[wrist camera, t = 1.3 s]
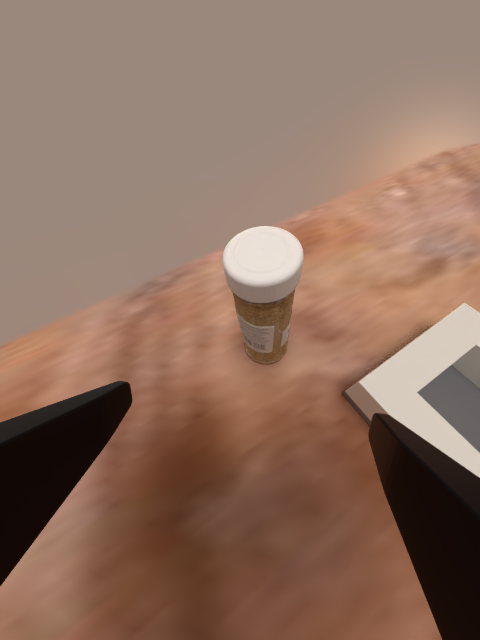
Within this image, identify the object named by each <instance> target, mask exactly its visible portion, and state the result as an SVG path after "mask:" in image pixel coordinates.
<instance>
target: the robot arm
mask: <svg viewBox="0 0 480 640" xmlns="http://www.w3.org/2000/svg"><path fill="white" fill-rule="evenodd" d="M131 404H132V394H131V388H130V384H129V383H128V382H124V381H117V382H114V383H111V384H108V385H105V386H102V387H100V388H97V389H94V390H91V391H88V392H85V393H83V394H80V395H77V396H74V397H71V398H68V399H66V400H63V401H60V402H57V403H54V404H51V405H49V406H46V407H43V408H40V409H37V410H34V411H32V412H29V413H26V414H23V415H20V416H17V417H15V418H12V419H9V420H6V421H3V422H0V586H1V585H2V583H3V582H4V581H5V579H6V578H7V577H8V575H9V574H10V573H11V571H12V570H13V569H14V567H15V566H16V565H17V563H18V562H19V561H20V559H21V558H22V557H23V555H24V554H25V553H26V551H27V550H28V549H29V547H30V546H31V545H32V543H33V542H34V541H35V539H36V538H37V537H38V535H39V534H40V533H41V531H42V530H43V529H44V527H45V526H46V525H47V523H48V522H49V521H50V519H51V518H52V517H53V515H54V514H55V513H56V511H57V510H58V509H59V507H60V506H61V505H62V503H63V502H64V501H65V499H66V498H67V497H68V495H69V494H70V493H71V491H72V490H73V489H74V487H75V486H76V484H77V483H78V482H79V480H80V479H81V478H82V476H83V475H84V474H85V472H86V471H87V470H88V468H89V467H90V466H91V464H92V463H93V462H94V460H95V459H96V458H97V456H98V455H99V454H100V452H101V451H102V450H103V448H104V447H105V446H106V444H107V443H108V441H109V440H110V438H111V437H112V435H113V434H114V432H115V430H116V429H117V427H118V426H119V424H120V422H121V421H122V419H123V418H124V416H125V414H126V413H127V411H128V410H129V408H130V406H131ZM369 441H370V445H371V448H372V452H373V455H374V459H375V462H376V466H377V469H378V473H379V476H380V480H381V483H382V486H383V489H384V492H385V495H386V498H387V500H388V503H389V505H390V508H391V510H392V513H393V516H394V518H395V521H396V523H397V526H398V528H399V531H400V533H401V536H402V538H403V541H404V543H405V546H406V548H407V551H408V554H409V556H410V559H411V561H412V564H413V566H414V569H415V571H416V574H417V576H418V579H419V581H420V584H421V587H422V589H423V592H424V594H425V597H426V599H427V602H428V604H429V607H430V609H431V612H432V614H433V617H434V620H435V622H436V625H437V627H438V630H439V632H440V635H441V637H442V640H480V478H479V477H478V476H477V475H475V474H474V473H472V472H471V471H469V470H468V469H466V468H465V467H464V466H462V465H461V464H459V463H458V462H456V461H455V460H453V459H452V458H451V457H449V456H448V455H446V454H445V453H443V452H442V451H441V450H439V449H438V448H436V447H435V446H433V445H432V444H430V443H429V442H428V441H426V440H425V439H423V438H422V437H420V436H419V435H417V434H416V433H415V432H413V431H412V430H410V429H409V428H407V427H406V426H405V425H403V424H402V423H400V422H399V421H397V420H396V419H394V418H393V417H392V416H390V415H388V414H383V413H374V414H373V416H372V420H371V425H370V429H369Z"/></svg>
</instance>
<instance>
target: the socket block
mask: <svg viewBox="0 0 480 640" xmlns="http://www.w3.org/2000/svg"><path fill="white" fill-rule="evenodd" d="M342 394H343V395H344V397H345V398H346V399H347V400H348V401H349V403H350V404H351V405H352V406H353V407H354V408H355V410H356V411H357V412H358V413H359V414H360V415H361V417H362V418H363V419H364V420H365V421H366V422H367V424H368V425H369V426H370V425H371V420H372V416H373V414H374V413H383V414H388V415H390V416H392V417H393V418H394V419H396V420H397V421H399V422H400V423H402V424H403V425H405V426H406V427H407V428H409V429H410V430H412V431H413V432H415V433H416V434H417V435H419V436H420V437H422V438H423V439H425V440H426V441H428V442H429V443H430V444H432V445H433V446H435V447H436V448H438V449H439V450H441V451H442V452H443V453H445V454H446V455H448V456H449V457H451V458H452V459H453V460H455V461H456V462H458V463H459V464H461V465H462V466H464V467H465V468H466V469H468V470H469V471H471V472H472V473H474V474H475V475H477V476H478V477H479V478H480V313H479V312H477V311H476V310H474V309H473V308H472V307H470V306H469V305H467V304H466V303H463V304H462V305H460V306H459V307H458V308H456V309H455V310H453V311H452V312H451V313H449V314H448V315H446V316H445V317H444V318H442V319H441V320H439V321H438V322H436V323H435V324H434V325H432V326H431V327H429V328H428V329H427V330H425V331H424V332H423V333H421V334H420V335H419V336H417V337H416V338H415V339H413V340H412V341H411V342H409V343H408V344H407V345H405V346H404V347H403V348H401V349H400V350H399V351H397V352H396V353H395V354H393V355H392V356H391V357H389V358H388V359H387V360H385V361H384V362H383V363H381V364H380V365H378V366H377V367H376V368H374V369H373V370H372V371H370V372H369V373H368V374H366V375H365V376H364V377H362V378H361V379H360V380H358V381H357V382H356V383H354V384H353V385H352V386H350V387H349V388H348V389H346V390H345V391H344V392H342Z"/></svg>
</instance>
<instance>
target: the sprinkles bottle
mask: <svg viewBox="0 0 480 640" xmlns="http://www.w3.org/2000/svg"><path fill="white" fill-rule="evenodd" d="M302 265H303V249H302V246H301V244H300V242H299V241H298V239H297V238H296V237H295V236H294V235H292V234H291V233H289V232H288V231H285V230H283V229H280V228H277V227H270V226H260V227H255V228H251V229H247V230H245V231H243V232H241V233H239V234H238V235H236V236H235V237H234V238H232V239H231V240H230V241H229V243H228V244H227V246H226V247H225V250H224V253H223V267H224V272H225V276H226V280H227V283H228V286H229V287H230V289H231V291H232V292H233V296H234V300H235V308H236V312H237V316H238V320H239V324H240V328H241V332H242V335H243V338H244V341H245V349H246V352H247V354H248V355H249V356H250V357H251V358H252V359H253V360H254V361H256V362H259V363H262V364H270V363H274V362H277V361H278V360H280V359H281V358H282V357H283V355H284V354H285V352H286V350H287V338H288V335H289V329H290V322H291V314H292V305H293V299H294V292H295V288H296V287H297V285H298V283H299V281H300V277H301V271H302Z"/></svg>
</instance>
